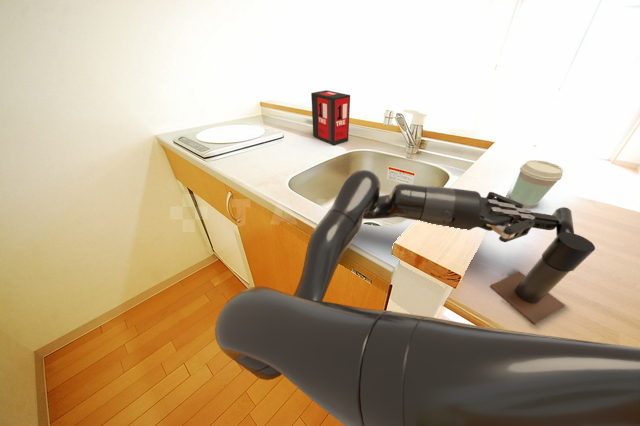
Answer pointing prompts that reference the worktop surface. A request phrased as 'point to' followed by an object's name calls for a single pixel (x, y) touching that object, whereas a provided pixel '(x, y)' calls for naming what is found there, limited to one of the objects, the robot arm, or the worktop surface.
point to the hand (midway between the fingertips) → (555, 223)
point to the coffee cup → (535, 182)
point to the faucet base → (532, 291)
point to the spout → (567, 244)
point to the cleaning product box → (330, 116)
